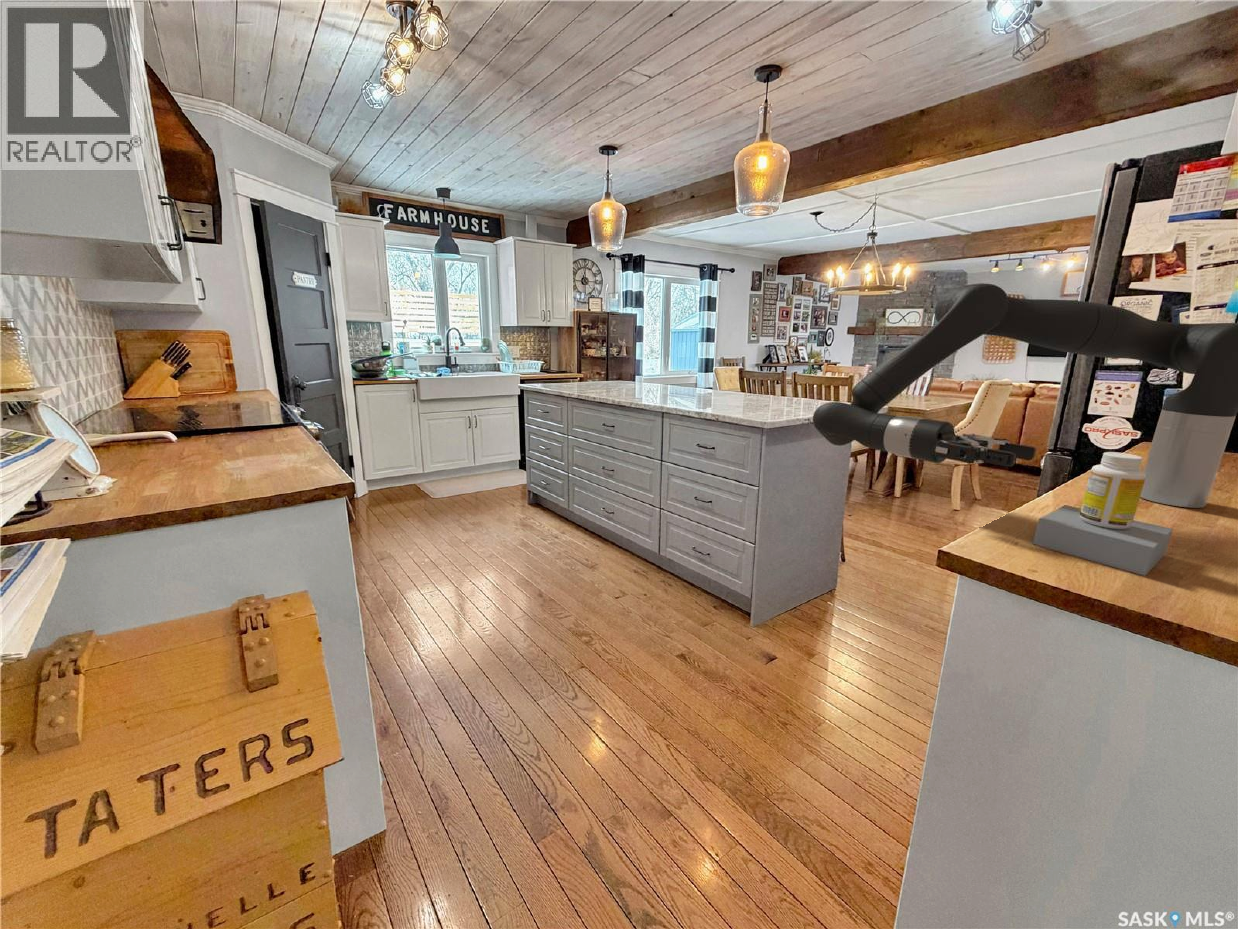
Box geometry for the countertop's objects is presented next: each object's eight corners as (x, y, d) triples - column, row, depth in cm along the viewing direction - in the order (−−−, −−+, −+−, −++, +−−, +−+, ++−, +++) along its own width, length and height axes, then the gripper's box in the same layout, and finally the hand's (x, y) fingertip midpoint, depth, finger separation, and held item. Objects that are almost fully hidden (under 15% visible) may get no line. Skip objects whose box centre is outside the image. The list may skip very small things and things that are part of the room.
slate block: (1059, 528, 82) (1065, 504, 81) (1164, 555, 72) (1173, 529, 71) (1032, 544, 75) (1038, 518, 74) (1144, 576, 65) (1154, 547, 64)
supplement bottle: (1133, 525, 72) (1154, 456, 70) (1127, 534, 69) (1149, 462, 66) (1082, 514, 76) (1100, 448, 74) (1074, 521, 73) (1092, 453, 70)
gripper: (901, 421, 87) (1013, 438, 74) (939, 415, 95) (1045, 429, 82) (894, 462, 89) (1001, 486, 76) (932, 453, 97) (1035, 473, 84)
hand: (1024, 457), depth 79 cm, fingers open, 8 cm apart
